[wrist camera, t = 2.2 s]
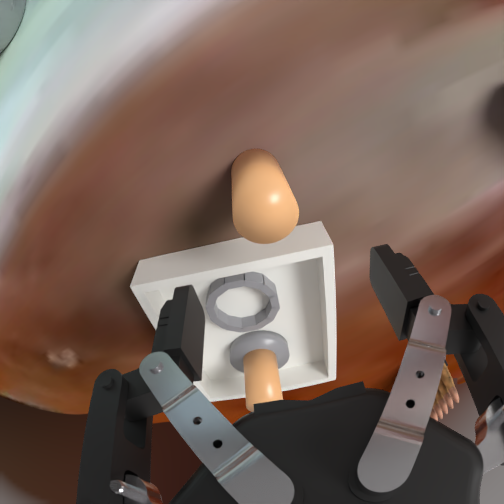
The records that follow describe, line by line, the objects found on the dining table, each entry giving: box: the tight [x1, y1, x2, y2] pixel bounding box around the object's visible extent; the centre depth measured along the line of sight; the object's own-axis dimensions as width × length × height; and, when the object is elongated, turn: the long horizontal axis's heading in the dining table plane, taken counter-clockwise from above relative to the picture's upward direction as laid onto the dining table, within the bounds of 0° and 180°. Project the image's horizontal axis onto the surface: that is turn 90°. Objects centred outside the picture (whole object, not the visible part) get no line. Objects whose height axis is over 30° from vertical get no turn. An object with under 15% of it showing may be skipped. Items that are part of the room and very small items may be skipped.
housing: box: [130, 221, 336, 412], centre depth 31 cm, size 18×22×9 cm
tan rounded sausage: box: [231, 149, 299, 244], centre depth 22 cm, size 4×4×8 cm
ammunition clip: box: [430, 360, 459, 421], centre depth 40 cm, size 11×2×12 cm, turn 179°
